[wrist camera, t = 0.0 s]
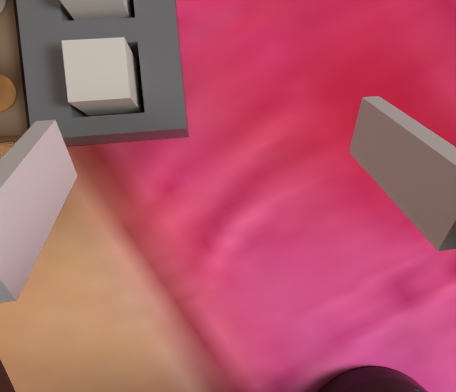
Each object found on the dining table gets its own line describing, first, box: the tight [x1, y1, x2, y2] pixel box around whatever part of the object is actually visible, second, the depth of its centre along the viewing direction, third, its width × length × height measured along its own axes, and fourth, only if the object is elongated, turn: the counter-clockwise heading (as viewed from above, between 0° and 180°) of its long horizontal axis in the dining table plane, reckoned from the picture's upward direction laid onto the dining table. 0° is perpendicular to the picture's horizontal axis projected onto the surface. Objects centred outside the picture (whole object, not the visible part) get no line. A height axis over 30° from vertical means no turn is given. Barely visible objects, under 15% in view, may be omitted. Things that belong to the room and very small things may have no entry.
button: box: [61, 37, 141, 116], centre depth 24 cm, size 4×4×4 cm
